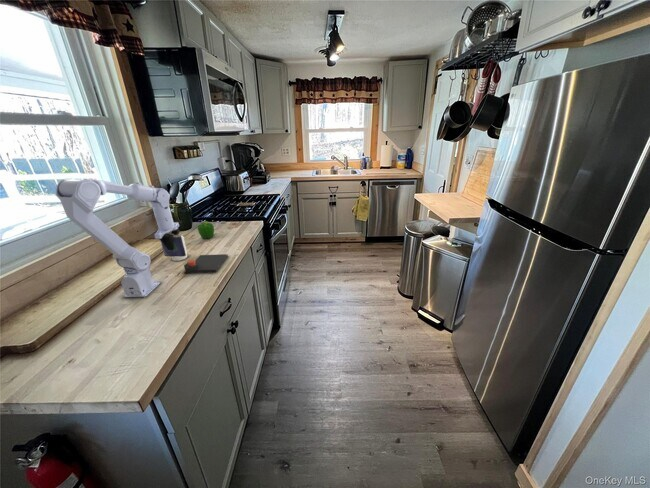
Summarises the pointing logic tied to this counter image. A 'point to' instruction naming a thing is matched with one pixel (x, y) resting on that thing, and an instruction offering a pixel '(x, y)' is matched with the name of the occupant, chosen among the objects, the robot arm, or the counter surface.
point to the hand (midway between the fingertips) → (172, 248)
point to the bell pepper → (206, 230)
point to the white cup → (178, 256)
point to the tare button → (191, 262)
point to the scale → (206, 264)
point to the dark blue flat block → (175, 247)
